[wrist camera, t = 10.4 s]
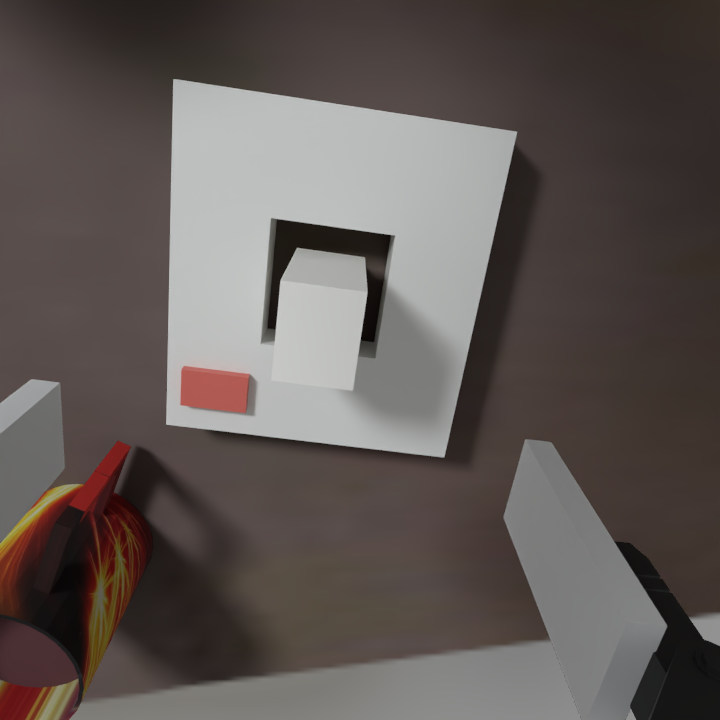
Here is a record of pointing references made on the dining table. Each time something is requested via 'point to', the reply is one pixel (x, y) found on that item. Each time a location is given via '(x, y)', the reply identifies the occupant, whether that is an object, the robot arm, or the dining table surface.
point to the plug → (320, 319)
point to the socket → (336, 209)
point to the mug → (66, 591)
